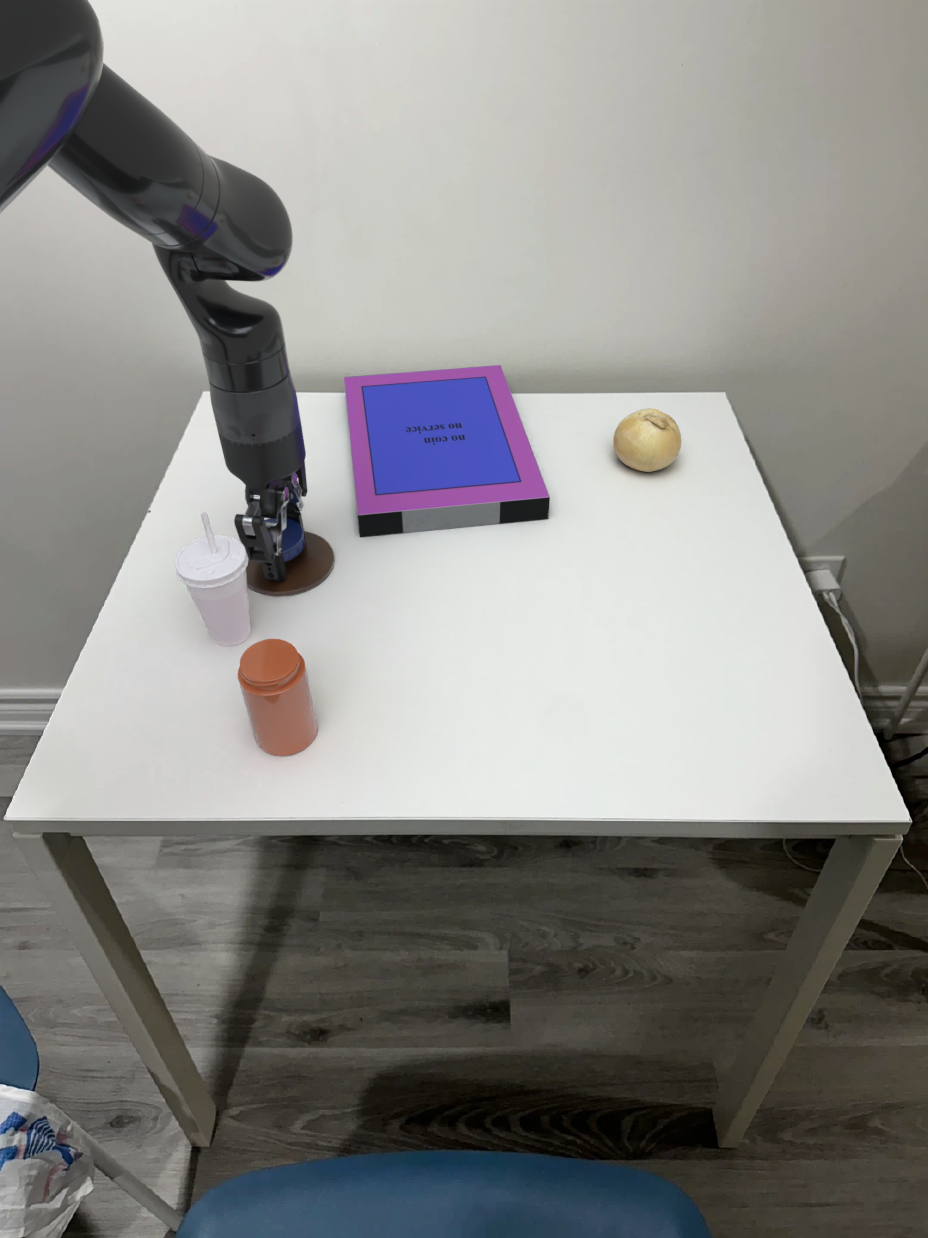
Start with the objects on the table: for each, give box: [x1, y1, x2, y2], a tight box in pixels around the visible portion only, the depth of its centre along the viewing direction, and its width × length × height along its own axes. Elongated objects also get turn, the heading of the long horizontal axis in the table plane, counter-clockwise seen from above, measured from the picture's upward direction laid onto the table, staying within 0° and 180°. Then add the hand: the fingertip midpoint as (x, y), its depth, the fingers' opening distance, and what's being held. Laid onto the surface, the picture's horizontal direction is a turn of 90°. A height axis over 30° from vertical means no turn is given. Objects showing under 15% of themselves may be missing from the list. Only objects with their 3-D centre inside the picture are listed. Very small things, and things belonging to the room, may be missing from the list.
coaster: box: [246, 530, 335, 597], centre depth 89 cm, size 10×10×1 cm
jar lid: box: [258, 518, 305, 562], centre depth 87 cm, size 6×6×2 cm
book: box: [343, 364, 551, 538], centre depth 103 cm, size 21×3×30 cm
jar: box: [237, 638, 319, 757], centre depth 71 cm, size 5×5×9 cm
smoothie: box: [173, 511, 252, 647], centre depth 78 cm, size 6×6×14 cm
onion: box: [612, 407, 682, 473], centre depth 100 cm, size 8×8×7 cm
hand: (285, 558), depth 89 cm, fingers closed on jar lid, 5 cm apart
